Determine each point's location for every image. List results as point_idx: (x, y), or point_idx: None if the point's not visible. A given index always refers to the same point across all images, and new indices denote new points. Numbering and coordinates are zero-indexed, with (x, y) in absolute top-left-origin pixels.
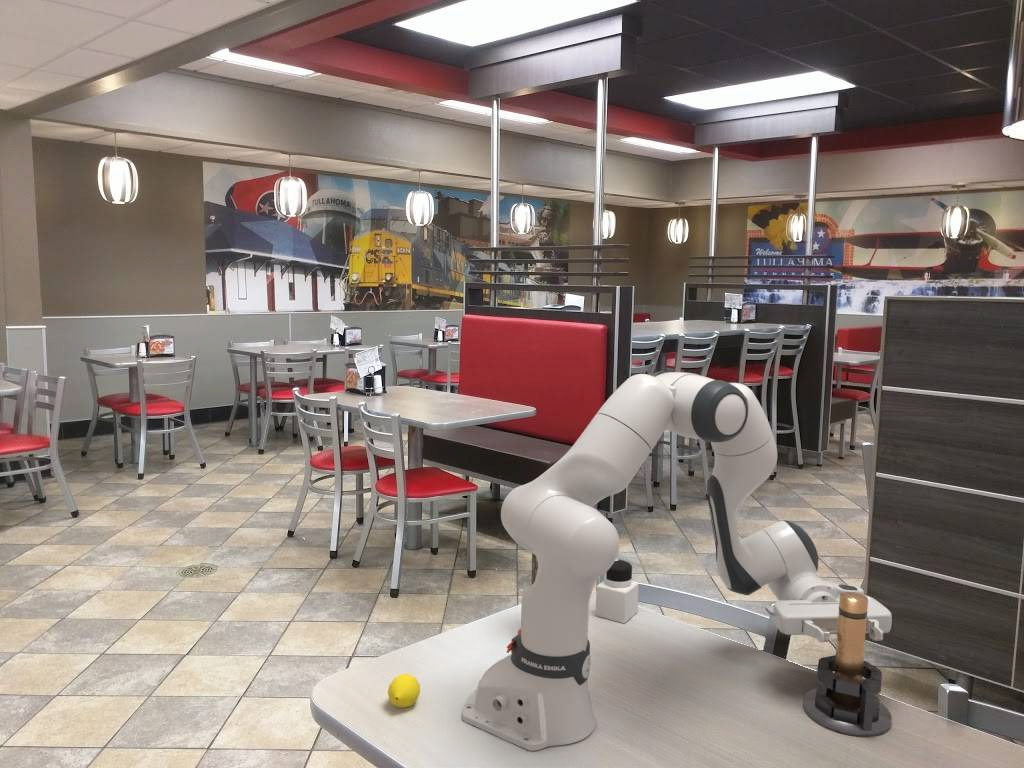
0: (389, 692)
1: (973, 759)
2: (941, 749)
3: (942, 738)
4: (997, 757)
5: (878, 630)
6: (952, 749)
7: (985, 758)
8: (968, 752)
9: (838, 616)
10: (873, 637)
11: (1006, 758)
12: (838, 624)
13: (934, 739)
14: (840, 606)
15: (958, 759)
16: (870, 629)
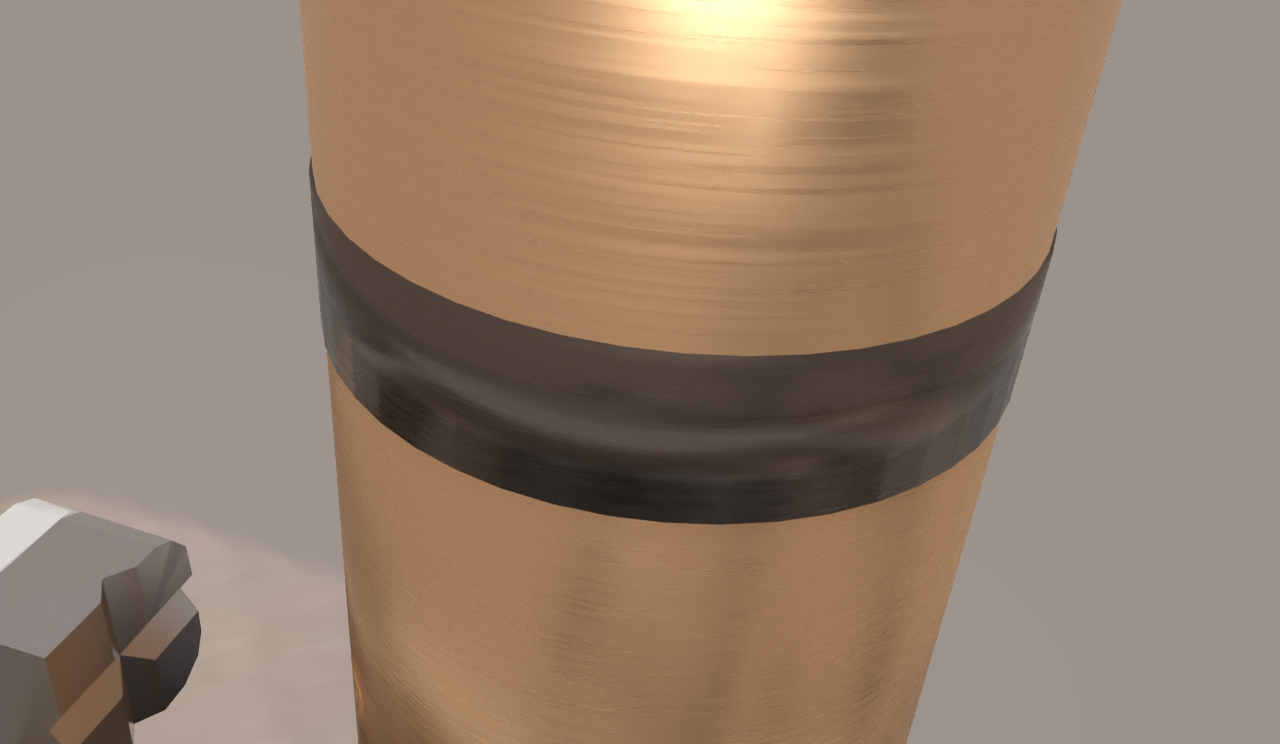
0: None
1: (250, 547)
2: (313, 657)
3: (162, 724)
4: (105, 515)
5: (71, 525)
6: (249, 634)
7: (177, 531)
8: (195, 588)
9: (948, 544)
10: (172, 652)
11: (73, 497)
12: (927, 654)
13: (227, 736)
14: (1068, 183)
15: (329, 573)
16: (68, 669)
